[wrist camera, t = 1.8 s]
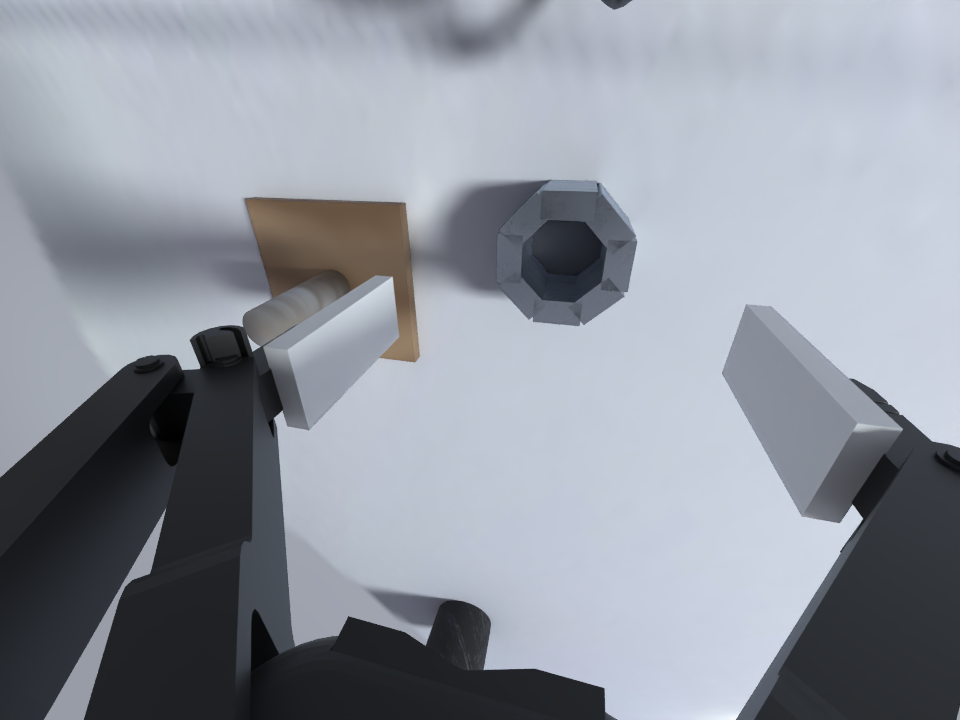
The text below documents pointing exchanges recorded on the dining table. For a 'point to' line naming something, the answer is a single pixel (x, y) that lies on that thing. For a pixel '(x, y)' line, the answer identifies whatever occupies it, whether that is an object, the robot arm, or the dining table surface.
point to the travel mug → (460, 635)
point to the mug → (616, 3)
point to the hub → (556, 292)
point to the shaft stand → (330, 262)
